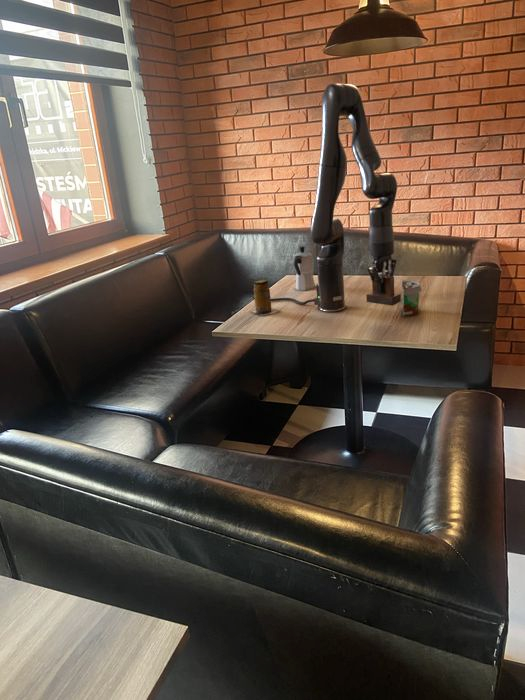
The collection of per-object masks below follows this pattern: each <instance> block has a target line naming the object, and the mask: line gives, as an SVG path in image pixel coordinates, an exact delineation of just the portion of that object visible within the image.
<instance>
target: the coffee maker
mask: <svg viewBox="0 0 525 700" xmlns="http://www.w3.org/2000/svg"><path fill="white" fill-rule="evenodd" d="M305 247H306V246H304V245H303V246H299V252H298V253H295V254H293V256H292V257H293V266H294V269H295V272H296V274H295V287H294V289H295V290H296V291H310V290H314V289H315V288H316V283H315V279H314V276H313V272H312V270H313V253H311V252H306V251H305V249H306V248H305Z"/></svg>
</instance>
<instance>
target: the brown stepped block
mask: <svg viewBox="0 0 525 700" xmlns="http://www.w3.org/2000/svg"><path fill="white" fill-rule="evenodd" d="M379 277H380V279H381V276H379ZM383 283H384V294H378V293H377V283H376V282H372V281H371V287H372V288H371V289H372V291H371V292H369V293H366V303H371V304H378V305H385V306H391V307H392V306H395V305H397V304H399V303H401V302H402V293H399V292H398V293H397V292H395V276H394V275H393V276H386V275H385V276H384V282H383Z"/></svg>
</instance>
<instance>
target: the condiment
mask: <svg viewBox="0 0 525 700" xmlns="http://www.w3.org/2000/svg"><path fill="white" fill-rule="evenodd" d="M253 297H254V298H255V299H254V306H255V310H251V311H250V312H251V313H254V314H256V315H258V316H267V315H273V314H277V313H278V312H279V311H278V310H275V309H272V301H271V299H272V298H271V290H270V287H269V281H268V280H267V279H257V280H254V282H253Z"/></svg>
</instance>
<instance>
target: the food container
mask: <svg viewBox="0 0 525 700" xmlns="http://www.w3.org/2000/svg"><path fill="white" fill-rule="evenodd" d="M421 292H422V286H421V284H420V282H419V281H414V280H402V281H401V302H402V305H401V306H402V314H403V317H404V318H405V317H407V318H408V317H413V316H416V315H417V314H418V313H419V304H420V302H419V301H420V293H421Z"/></svg>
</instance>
